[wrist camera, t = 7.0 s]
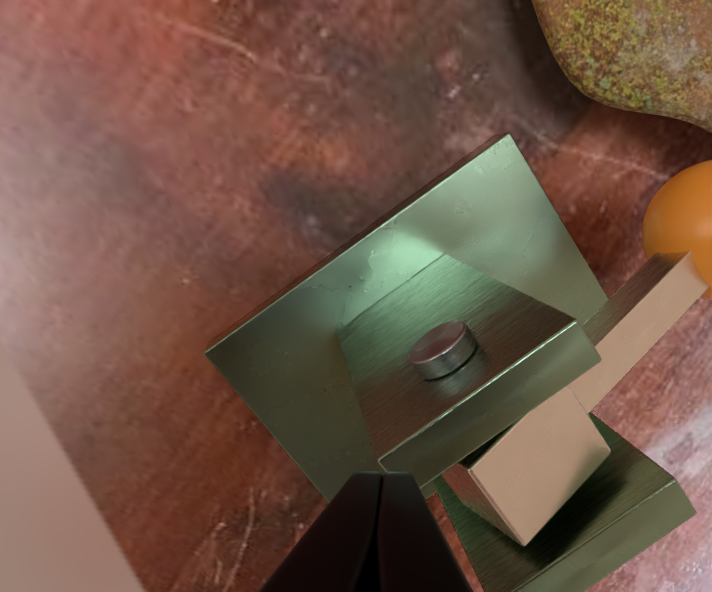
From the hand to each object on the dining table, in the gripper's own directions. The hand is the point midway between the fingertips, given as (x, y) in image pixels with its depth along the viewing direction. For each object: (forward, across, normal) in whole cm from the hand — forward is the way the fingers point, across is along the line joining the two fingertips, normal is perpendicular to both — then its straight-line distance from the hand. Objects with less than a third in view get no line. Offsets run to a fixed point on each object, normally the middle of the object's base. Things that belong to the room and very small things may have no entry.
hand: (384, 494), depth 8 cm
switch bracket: (+12, -1, +4) cm, 12 cm away
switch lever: (+8, -5, +1) cm, 9 cm away
